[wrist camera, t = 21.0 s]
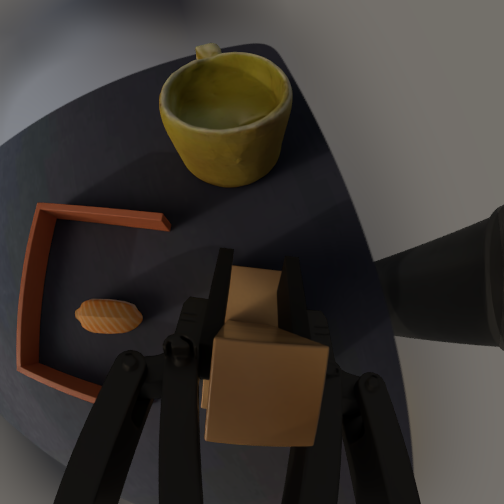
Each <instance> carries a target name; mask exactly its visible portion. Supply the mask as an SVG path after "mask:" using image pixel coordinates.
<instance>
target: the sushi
mask: <svg viewBox="0 0 504 504" xmlns="http://www.w3.org/2000/svg"><path fill="white" fill-rule="evenodd" d="M75 317H76V318H77V319H78V320H79V321H80V322H81V324H82V327H83V328H85V329H86V330H88V331H91V332H95V333H106V334H113V333H124V332H128V331H131V330H133V329H135V328H136V327H137V326H138V325H139V324H140V323H141V322H142V320H143V316H142V314H141V313H140V312H139V311H138V309H137V308H136V306H135V305H134V304H131V303H128V302H126V301H120V300H113V299H93V298H92V299H90V300H87V301H85V302H83V303H82V304H81V307H80V308H78V309H77V310H76V311H75Z"/></svg>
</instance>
